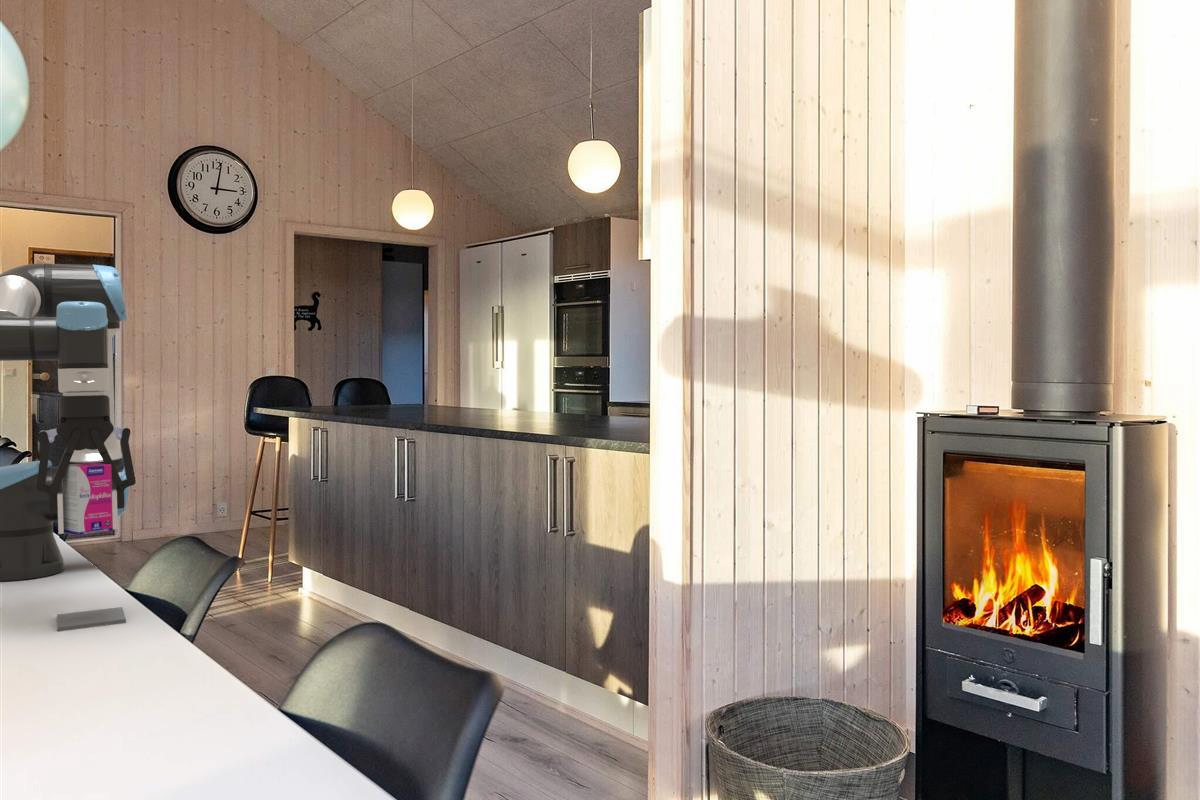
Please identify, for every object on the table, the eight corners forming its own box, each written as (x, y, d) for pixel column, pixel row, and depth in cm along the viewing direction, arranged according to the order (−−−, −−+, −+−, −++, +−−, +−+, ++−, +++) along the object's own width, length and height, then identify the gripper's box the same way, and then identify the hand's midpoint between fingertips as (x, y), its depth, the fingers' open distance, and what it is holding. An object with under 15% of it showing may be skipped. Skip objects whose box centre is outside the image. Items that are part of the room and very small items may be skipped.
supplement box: (79, 536, 160) (76, 466, 160) (62, 533, 164) (59, 464, 164) (114, 530, 165) (111, 463, 165) (97, 528, 169) (95, 461, 168)
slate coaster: (57, 617, 167) (56, 614, 167) (122, 610, 172) (122, 606, 172) (57, 631, 158) (57, 627, 158) (126, 622, 163) (125, 618, 163)
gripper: (13, 396, 156) (17, 539, 156) (152, 393, 165) (156, 527, 166) (14, 395, 162) (19, 533, 163) (148, 392, 172) (152, 522, 173)
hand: (88, 530), depth 164 cm, fingers closed on supplement box, 7 cm apart
